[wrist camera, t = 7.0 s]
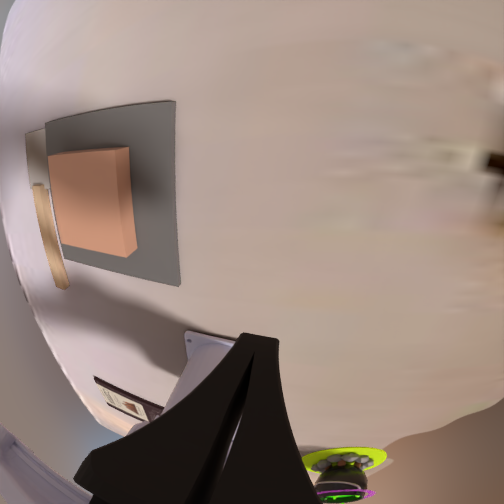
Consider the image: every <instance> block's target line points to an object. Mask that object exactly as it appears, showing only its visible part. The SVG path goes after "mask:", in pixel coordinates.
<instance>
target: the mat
mask: <svg viewBox="0 0 504 504" xmlns="http://www.w3.org/2000/svg"><path fill="white" fill-rule="evenodd" d="M175 111H176V102H174V101H171V102H159V103H148V104H140V105H132V106H124V107H118V108H111V109H105V110H100V111H94V112H89V113H84V114H80V115H75V116H71V117H67V118H63V119H59V120H55V121H51V122H47V123H45V136H46V154H47V165H48V156H50V155H54V154H57V153H60V152H68V151H77V150H87V149H99V148H114V147H129V159H130V178H131V193H132V204H133V215H134V224H135V233H136V241H137V249H136V250H135V251H134V252H133V253H131V254H130V255H129V256H128V257H127V258H126V257H121V256H116V255H111V254H107V253H102V252H98V251H93V250H88V249H84V248H80V247H75V246H71V245H66V244H62V243H61V239H60V235H59V230H58V225H57V220H56V215H55V209H54V203H53V197H52V190H51V183H50V174H49V165H48V175H49V183H50V191H51V197H52V204H53V209H54V215H55V220H56V225H57V230H58V235H59V239H60V243H61V247H62V251H63V255H64V259H67V260H71V261H74V262H78V263H82V264H85V265H89V266H93V267H97V268H101V269H105V270H108V271H112V272H116V273H120V274H124V275H129V276H133V277H137V278H141V279H145V280H150V281H154V282H158V283H163V284H167V285H172V286H176V287H179V286H180V284H181V278H180V267H179V254H178V239H177V221H176V196H175Z"/></svg>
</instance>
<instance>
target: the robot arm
mask: <svg viewBox="0 0 504 504" xmlns="http://www.w3.org/2000/svg"><path fill="white" fill-rule="evenodd" d="M184 338H185V345H186V352H187V358H188V362H187V364H186V366H185V368H184V370H183V372H182V374H181V376H180V378H179V380H178V382H177V384H176V386H175V388H174V390H173V392H172V394H171V396H170V398H169V400H168V402H167V404H166V406H165V408H164V410H163V412H162V414H161V416H159V415H157V416H156V417H155V419H154V420H153V421H152V422H148V421H143V422H142V423H137V424H135V425H134V426H133V427H132V428H131V430H130V431H129V432H128V434H127V435H126V436H125V437H123V438H121V439H119V440H117V441H115V442H112V443H110V444H107V445H104V446H102V447H99V448H97V449H94V450H92V451H91V452H90V454H89V455H88V456H87V457H86V458H85V460H84V461H83V462H82V464H81V466H80V468H79V469H78V471H77V473H76V474H75V476H74V478H73V479H74V481H75V482H76V483H77V484H78V485H80V486H81V487H83V488H84V489H86V490H88V491H89V492H91V493H92V494H93V496H91V495H89V494H88V493H86V492H85V491H83V490H82V489H80V488H78V487H77V486H76V485H74V484H73V483H71V482H70V481H68V480H67V479H65V478H64V477H63V476H61V475H60V474H59V473H57V472H56V471H55V470H53V469H52V468H51V467H49V466H48V465H47V464H46V463H44V462H43V461H42V460H41V459H39V458H38V457H37V456H36V455H35V454H34V452H33V451H32V450H31V449H29V448H28V447H27V446H26V445H25V444H24V443H23V442H22V441H21V440H20V439H18V438H17V437H16V436H15V435H14V434H13V433H11V432H10V431H9V430H7V428H6V427H5V426H4V425H2V423H1V422H0V494H1V496H2V497H3V498H4V500H5V501H6V502H7V504H323V503H322V501H321V499H320V497H319V496H318V494H317V492H316V490H315V488H314V486H313V484H312V482H311V480H310V477H309V475H308V473H307V470H306V468H305V466H304V463H303V461H302V458H301V456H300V453H299V451H298V448H297V445H296V442H295V439H294V436H293V433H292V430H291V426H290V423H289V419H288V415H287V411H286V407H285V402H284V397H283V392H282V386H281V379H280V371H279V356H278V355H279V340H278V339H277V338H271V337H265V336H260V335H255V334H249V333H242V334H240V336H239V337H238V339H237V340H236V341H231V340H227V339H222V338H218V337H213V336H209V335H205V334H201V333H196V332H192V331H186V332H185V334H184Z"/></svg>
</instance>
